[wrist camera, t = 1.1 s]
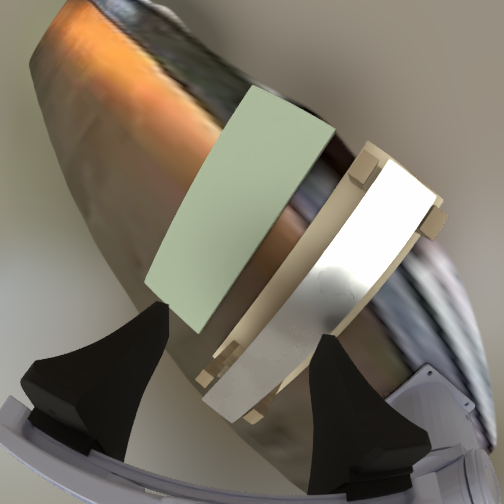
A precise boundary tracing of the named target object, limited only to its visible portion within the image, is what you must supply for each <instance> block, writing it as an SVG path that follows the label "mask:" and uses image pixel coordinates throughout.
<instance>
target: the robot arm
mask: <svg viewBox="0 0 504 504" xmlns="http://www.w3.org/2000/svg"><path fill="white" fill-rule="evenodd" d="M168 338H169V304H166V303H162V302H158V301H156V302H155V303H153V304H152V305H151V306H149V307H148V308H147V309H146V310H144V311H143V312H142V313H140V314H139V315H138V316H136V317H135V318H134V319H132V320H131V321H129V322H128V323H127V324H125V325H124V326H122V327H121V328H119V329H118V330H116V331H115V332H113V333H111V334H110V335H108V336H106V337H105V338H103V339H101V340H99V341H97V342H95V343H93V344H90V345H88V346H86V347H83V348H81V349H78V350H76V351H73V352H70V353H67V354H64V355H60V356H56V357H52V358H47V359H42V360H36V361H35V362H34V363H33V364H32V365H31V367H30V368H29V369H28V371H27V372H26V373H25V375H24V376H23V377H22V379H21V381H20V383H21V386H22V389H23V390H24V392H25V394H26V395H27V396H28V398H29V399H30V401H31V402H32V404H33V405H34V409H33V410H32V411H31V410H30V409H29V408H28V407H26V406H25V405H24V404H22V403H21V402H20V401H18V400H17V399H15V398H14V397H12V396H9V397H8V399H7V400H6V402H5V403H4V405H3V406H2V408H1V409H0V445H1V446H2V447H3V448H4V449H5V450H6V451H8V452H9V453H10V454H11V455H12V456H13V457H15V458H16V459H17V460H19V461H20V462H21V463H23V464H24V465H25V466H27V467H28V468H30V469H31V470H32V471H34V472H35V473H37V474H38V475H39V476H41V477H42V478H44V479H45V480H47V481H49V482H50V483H52V484H53V485H55V486H57V487H58V488H60V489H62V490H63V491H65V492H67V493H69V494H70V495H72V496H74V497H76V498H78V499H80V500H81V501H83V502H85V503H87V504H502V503H501V499H500V490H499V485H498V481H497V477H496V474H495V471H494V468H493V466H492V463H491V461H490V459H489V457H488V455H487V453H486V452H485V451H484V450H482V449H480V448H479V445H478V441H477V438H476V434H475V431H474V428H473V425H472V422H471V419H470V416H469V413H470V412H471V411H472V410H473V409H474V408H475V404H474V402H473V401H471V400H470V399H469V398H468V397H467V396H466V395H465V394H463V393H462V392H461V391H460V390H459V389H458V388H457V387H455V386H454V385H453V384H452V383H451V382H450V381H448V380H447V379H446V378H445V377H444V376H443V375H441V374H440V373H439V372H438V371H437V370H436V369H434V368H433V367H432V366H431V365H429V364H426V365H424V366H423V367H422V368H420V369H419V370H418V371H417V372H416V373H415V374H414V375H413V376H412V377H411V378H410V379H409V380H407V381H406V382H405V383H404V384H403V385H402V386H401V387H399V388H398V389H397V390H396V391H395V392H393V393H392V394H391V395H390V396H389V397H387V398H386V399H385V400H384V399H383V398H382V397H381V396H380V395H379V394H378V393H377V392H376V391H375V390H374V389H373V388H372V387H371V385H370V384H369V383H368V382H367V381H366V379H365V378H364V377H363V375H362V374H361V373H360V372H359V370H358V369H357V367H356V366H355V365H354V363H353V362H352V360H351V359H350V357H349V356H348V354H347V353H346V351H345V350H344V348H343V347H342V345H341V344H340V342H339V341H338V339H337V338H336V336H335V335H330V334H322V336H321V339H320V341H319V343H318V345H317V348H316V350H315V352H314V354H313V356H312V358H311V360H310V363H309V385H310V394H311V403H312V412H313V424H314V433H313V453H312V465H311V473H310V480H309V487H308V492H307V495H302V496H301V495H298V496H297V495H295V496H294V495H270V494H257V493H247V492H238V491H231V490H224V489H217V488H212V487H206V486H202V485H197V484H192V483H188V482H184V481H180V480H176V479H172V478H168V477H165V476H162V475H158V474H155V473H152V472H149V471H145V470H143V469H140V468H137V467H134V466H131V465H129V464H126V463H124V458H125V454H126V449H127V445H128V441H129V437H130V433H131V430H132V426H133V423H134V420H135V416H136V413H137V410H138V407H139V404H140V401H141V398H142V395H143V393H144V391H145V389H146V386H147V384H148V382H149V380H150V378H151V376H152V374H153V372H154V370H155V368H156V366H157V364H158V362H159V360H160V358H161V356H162V354H163V352H164V349H165V346H166V344H167V341H168ZM429 371H432V372H431V373H429V374H428V372H429ZM467 402H468V403H467ZM140 486H141V487H140ZM143 487H144V488H147V489H150V490H153V491H157V492H160V493H163V494H167V495H171V496H166V497H164V496H160V495H156V494H152V493H148V492H145V489H144V488H143ZM172 496H174V497H172Z"/></svg>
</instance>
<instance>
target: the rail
mask: <svg viewBox="0 0 504 504" xmlns="http://www.w3.org/2000/svg"><path fill="white" fill-rule="evenodd" d="M436 197H437V196H436V195H434V194H433V193H432V192H431V191H430V190H429V189H428V188H426V187H425V186H424V185H423V184H422V183H420V182H419V181H418V180H417V179H416V178H414V177H413V176H412V175H411V174H409V173H408V172H407V171H406V170H404V169H403V168H402V167H400V166H399V165H398V164H397V163H395V162H394V161H393V160H391V159H389V161H388V162H387V163H386V165H385V166H384V168H383V169H382V171H381V172H380V174H379V175H378V177H377V178H376V180H375V181H374V183H373V184H372V186H371V187H370V189H369V190H368V192H367V193H366V195H365V196H364V198H363V199H362V201H361V202H360V203H359V205H358V206H357V208H356V209H355V211H354V212H353V213H352V215H351V216H350V218H349V219H348V220H347V222H346V223H345V225H344V226H343V227H342V229H341V230H340V232H339V233H338V234H337V236H336V237H335V238H334V240H333V241H332V243H331V244H330V245H329V247H328V248H327V249H326V251H325V252H324V253H323V255H322V256H321V257H320V259H319V260H318V261H317V263H316V264H315V265H314V266H313V268H312V269H311V270H310V272H309V273H308V274H307V276H306V277H305V278H304V279H303V281H302V282H301V283H300V285H299V286H298V287H297V288H296V290H295V291H294V292H293V293H292V295H291V296H290V297H289V298H288V300H287V301H286V302H285V303H284V305H283V306H282V307H281V308H280V310H279V311H278V312H277V313H276V315H275V316H274V317H273V318H272V319H271V321H270V322H269V323H268V324H267V325H266V327H265V328H264V329H263V330H262V331H261V333H260V334H259V335H258V336H257V337H256V339H255V340H254V341H253V342H252V343H251V344H250V346H249V347H248V348H247V349H246V350H245V351H244V353H243V354H242V355H241V356H240V357H239V358H238V359H237V361H236V362H235V363H234V364H233V365H232V366H231V367H230V368H229V370H228V371H227V372H226V373H225V374H224V375H223V376H222V377H221V378H220V380H219V381H218V382H217V383H216V384H215V385H214V386H213V387H212V388H211V390H210V391H209V392H208V393H207V394H206V395H205V396H204V397H203V398H202V400H203V401H204V402H205V403H207V404H208V405H209V406H210V407H212V408H213V409H214V410H215V411H217V412H218V413H219V414H220V415H222V416H223V417H224V418H226V419H227V420H228V421H230V422H231V423H233V422H235V421H236V420H237V419H238V418H240V417H241V416H242V415H243V414H245V413H246V412H247V411H248V410H249V409H251V408H252V407H253V406H254V405H255V404H257V403H258V402H259V401H260V400H261V399H262V398H264V397H265V396H266V395H267V394H268V393H269V392H270V391H272V390H273V389H274V388H275V387H276V386H277V385H278V384H279V383H280V382H282V381H283V380H284V379H285V378H286V377H287V376H288V375H289V374H290V373H291V372H292V371H293V370H294V369H296V368H297V367H298V366H299V365H300V364H301V363H302V362H303V361H304V360H305V359H306V358H307V357H308V356H309V355H310V354H311V353H312V352H313V351H314V350H315V349H316V348H317V345H318V343H319V341H320V339H321V336H322V334H330V333H331V332H332V331H333V330H334V329H335V328H336V327H337V326H338V325H339V324H340V323H341V322H342V320H343V319H344V318H345V317H346V316H347V315H348V314H349V313H350V311H351V310H352V309H353V308H354V307H355V306H356V305H357V304H358V302H359V301H360V300H361V299H362V298H363V297H364V295H365V294H366V293H367V292H368V291H369V289H370V288H371V287H372V286H373V285H374V283H375V282H376V281H377V280H378V278H379V277H380V276H381V275H382V273H383V272H384V271H385V270H386V268H387V267H388V266H389V264H390V263H391V262H392V261H393V259H394V258H395V257H396V255H397V254H398V253H399V251H400V250H401V249H402V247H403V246H404V245H405V243H406V242H407V240H408V239H409V238H410V236H411V235H412V233H413V232H414V231H415V229H416V228H417V226H418V225H419V223H420V222H421V220H422V219H423V217H424V216H425V214H426V213H427V211H428V210H429V208H430V207H431V205H432V204H433V202H434V201H435V199H436Z"/></svg>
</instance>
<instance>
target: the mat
mask: <svg viewBox="0 0 504 504" xmlns="http://www.w3.org/2000/svg"><path fill="white" fill-rule="evenodd" d="M335 132H336V129H335V128H333V127H332V126H330V125H328V124H327V123H325V122H323V121H321V120H320V119H318V118H316V117H315V116H313V115H311V114H309V113H307V112H306V111H304V110H302V109H300V108H298V107H296V106H295V105H293V104H291V103H289V102H287V101H285V100H283V99H281V98H279V97H277V96H275V95H273V94H271V93H269V92H267V91H265V90H263V89H260V88H258V87H256V86H254V85H252V86H251V88H250V89H249V91H248V92H247V94H246V95H245V97H244V98H243V100H242V101H241V103H240V104H239V106H238V107H237V109H236V111H235V112H234V114H233V115H232V117H231V118H230V120H229V122H228V123H227V125H226V126H225V128H224V130H223V131H222V133H221V135H220V136H219V138H218V140H217V141H216V143H215V145H214V146H213V148H212V150H211V151H210V153H209V155H208V157H207V158H206V160H205V162H204V163H203V165H202V167H201V169H200V171H199V172H198V174H197V176H196V178H195V180H194V181H193V183H192V185H191V187H190V189H189V191H188V192H187V194H186V196H185V198H184V200H183V202H182V204H181V206H180V208H179V210H178V212H177V214H176V216H175V218H174V219H173V221H172V223H171V225H170V228H169V230H168V232H167V234H166V236H165V238H164V240H163V242H162V244H161V246H160V248H159V250H158V253H157V255H156V257H155V259H154V261H153V263H152V266H151V268H150V270H149V272H148V275H147V277H146V279H145V281H144V283H145V284H146V285H147V286H148V287H149V288H150V289H151V290H152V291H153V292H154V293H155V294H156V295H157V296H158V297H159V298H160V299H161V300H162V301H163V302H164V303H166V304H169V307H170V308H171V309H172V310H173V311H174V312H175V313H176V314H177V315H178V316H179V317H180V318H181V319H182V320H184V321H185V322H186V323H187V324H188V325H189V326H190V327H191V328H192V329H193V330H194V331H196V332H197V333H198V334H199V333H200V332H202V330H203V329H204V327H205V326H206V324H207V323H208V321H209V320H210V318H211V317H212V315H213V314H214V313H215V311H216V310H217V308H218V307H219V305H220V304H221V302H222V301H223V299H224V298H225V296H226V295H227V293H228V292H229V290H230V289H231V287H232V286H233V284H234V283H235V281H236V280H237V278H238V277H239V275H240V274H241V273H242V271H243V270H244V268H245V267H246V265H247V264H248V262H249V261H250V259H251V258H252V256H253V255H254V253H255V252H256V250H257V249H258V247H259V246H260V244H261V243H262V241H263V240H264V238H265V237H266V235H267V234H268V232H269V231H270V229H271V228H272V226H273V225H274V224H275V222H276V221H277V219H278V218H279V216H280V215H281V213H282V212H283V210H284V209H285V207H286V206H287V204H288V203H289V201H290V200H291V198H292V197H293V195H294V194H295V192H296V191H297V189H298V188H299V186H300V185H301V183H302V182H303V180H304V179H305V177H306V176H307V174H308V173H309V171H310V170H311V168H312V167H313V165H314V164H315V162H316V161H317V159H318V158H319V156H320V155H321V153H322V152H323V150H324V149H325V147H326V146H327V144H328V143H329V141H330V140H331V138H332V137H333V135H334V134H335Z"/></svg>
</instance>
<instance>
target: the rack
mask: <svg viewBox="0 0 504 504" xmlns="http://www.w3.org/2000/svg"><path fill="white" fill-rule="evenodd" d="M389 159H391V160H393V161H394V162H395V163H397V164H398V165H399V166H400V167H402V168H403V169H404V170H406V171H407V172H408V173H409V174H411V175H412V176H413V177H414V178H416V179H417V180H418V181H419V182H420V183H422V184H423V185H424V186H425V187H426V188H428V189H429V190H430V191H431V192H432V193H433V194H434V195H436V196H437V197H436V199H435V201H434V202H433V204H432V205H431V207H430V208H429V210H428V211H427V213H426V214H425V216H424V217H423V219H422V220H421V222H420V223H419V225H418V226H417V228H416V229H415V231H414V232H413V233H412V235H411V236H410V238H409V239H408V240H407V242H406V243H405V245H404V246H403V247H402V249H401V250H400V251H399V253H398V254H397V255H396V257H395V258H394V259H393V261H392V262H391V263H390V264H389V266H388V267H387V268H386V270H385V271H384V272H383V273H382V275H381V276H380V277H379V278H378V280H377V281H376V282H375V283H374V285H373V286H372V287H371V288H370V289H369V291H368V292H367V293H366V294H365V295H364V297H363V298H362V299H361V300H360V301H359V302H358V304H357V305H356V306H355V307H354V308H353V309H352V310H351V311H350V313H349V314H348V315H347V316H346V317H345V318H344V319H343V320H342V322H341V323H340V324H339V325H338V326H337V327H336V328H335V329H334V330H333V331H332V332H331V333H330V335H335V336H336V337H337V336H338V335H339V334H340V333H341V332H342V331H343V330H344V329H345V328H346V327H347V326H348V325H349V323H350V322H351V321H352V320H353V319H354V318H355V317H356V316H357V315H358V314H359V312H360V311H361V310H362V309H363V308H364V307H365V306H366V304H367V303H368V302H369V301H370V300H371V299H372V297H373V296H374V295H375V294H376V293H377V292H378V290H379V289H380V288H381V287H382V286H383V284H384V283H385V282H386V281H387V279H388V278H389V277H390V276H391V274H392V273H393V272H394V271H395V269H396V268H397V267H398V265H399V264H400V263H401V262H402V260H403V259H404V258H405V256H406V255H407V254H408V252H409V251H410V249H411V248H412V247H413V245H414V244H415V243H416V241H417V240H418V238H419V237H420V236H421V235H422V236H424V237H426V238H428V239H430V240H432V241H433V240H434V238H435V237H436V235H437V234H438V232H439V231H440V229H441V228H442V226H443V225H444V223H445V222H446V220H447V219H448V216H447V215H446V214H445V213H444V212H443V211H441V210H440V209H439V207H440V205H441V204H442V202H443V201H444V200H443V199H442V198H441V197H440V196H438V195H437V194H436V193H435V192H434V191H433V190H432V189H430V188H429V187H428V186H427V185H426V184H425V183H423V182H422V181H421V180H420V179H419V178H417V177H416V176H415V175H414V174H413V173H411V172H410V171H409V170H407V169H406V168H405V167H404V166H402V165H401V164H400V163H398V162H397V161H396V160H394V159H393V158H392V157H390V156H389V155H388V154H386V153H385V152H384V151H382V150H381V149H379V148H378V147H376V146H375V145H374V144H372V143H371V142H369V141H367V142H366V144H365V145H364V147H363V148H362V150H361V151H360V153H359V154H358V156H357V157H356V159H355V160H354V162H353V163H352V165H351V166H350V168H349V169H348V171H347V172H346V174H345V175H344V177H343V178H342V180H341V181H340V182H339V184H338V185H337V187H336V188H335V190H334V191H333V193H332V194H331V196H330V197H329V199H328V200H327V201H326V203H325V204H324V206H323V207H322V209H321V210H320V212H319V213H318V214H317V216H316V217H315V219H314V220H313V222H312V223H311V224H310V226H309V227H308V229H307V230H306V231H305V233H304V234H303V236H302V237H301V238H300V240H299V241H298V243H297V244H296V245H295V247H294V248H293V250H292V251H291V252H290V254H289V255H288V257H287V258H286V259H285V261H284V262H283V263H282V265H281V266H280V268H279V269H278V270H277V272H276V273H275V274H274V276H273V277H272V279H271V280H270V281H269V283H268V284H267V285H266V287H265V288H264V289H263V291H262V292H261V293H260V295H259V296H258V297H257V299H256V300H255V301H254V303H253V304H252V305H251V307H250V308H249V309H248V311H247V312H246V313H245V315H244V316H243V317H242V319H241V320H240V321H239V323H238V324H237V325H236V327H235V328H234V329H233V330H232V332H231V333H230V334H229V336H228V337H227V338H226V340H225V341H224V342H223V343H222V345H221V346H220V347H219V349H218V350H217V351H216V352H215V354H214V355H213V357H214V358H215V359H214V360H213V361H212V362H211V363H210V364H209V365H208V366H207V367H206V368H204V369H203V371H202V372H201V373H200V374H199V376H198V377H197V378H196V379H195V380H196V381H197V382H199V383H200V384H201V385H202V386H203V387H204V388H205V387H206V386H207V385H208V384H209V383H210V382H211V381H212V380H213V379H214V378H215V377H216V376H218V377H220V378H221V377H222V376H223V375H224V374H225V373H226V372H227V371H228V370H229V368H230V367H231V366H232V365H233V364H234V363H235V362H236V361H237V359H238V358H239V357H240V356H241V355H242V354H243V353H244V351H245V350H246V349H247V348H248V347H249V346H250V344H251V343H252V342H253V341H254V340H255V339H256V337H257V336H258V335H259V334H260V333H261V331H262V330H263V329H264V328H265V327H266V325H267V324H268V323H269V322H270V321H271V319H272V318H273V317H274V316H275V315H276V313H277V312H278V311H279V310H280V308H281V307H282V306H283V305H284V303H285V302H286V301H287V300H288V298H289V297H290V296H291V295H292V293H293V292H294V291H295V290H296V288H297V287H298V286H299V285H300V283H301V282H302V281H303V279H304V278H305V277H306V276H307V274H308V273H309V272H310V270H311V269H312V268H313V266H314V265H315V264H316V263H317V261H318V260H319V259H320V257H321V256H322V255H323V253H324V252H325V251H326V249H327V248H328V247H329V245H330V244H331V243H332V241H333V240H334V238H335V237H336V236H337V234H338V233H339V232H340V230H341V229H342V227H343V226H344V225H345V223H346V222H347V220H348V219H349V218H350V216H351V215H352V213H353V212H354V211H355V209H356V208H357V206H358V205H359V203H360V202H361V201H362V199H363V198H364V196H365V195H366V193H367V192H368V190H369V189H370V187H371V186H372V184H373V183H374V181H375V180H376V178H377V177H378V175H379V174H380V172H381V171H382V169H383V168H384V166H385V165H386V163H387V162H388V161H389ZM315 350H316V349H315ZM315 350H314V351H313V352H312V353H311V354H310V355H309V356H308V357H307V358H306V359H305V360H304V361H303V362H302V363H301V364H300V365H299V366H298V367H297V368H296V369H294V370H293V371H292V372H291V373H290V374H289V375H288V376H287V377H286V378H285V379H284V380H283V381H282V382H280V383H279V384H278V385H277V386H276V387H275V388H274V389H273V390H272V391H270V392H269V393H268V394H267V395H266V396H265V397H264V398H262V399H261V400H260V401H259V402H258V403H257V404H255V405H254V406H253V407H252V408H251V409H249V410H248V411H247V412H246V414H245V415H244V417H243V418H244V419H245V420H247V421H248V422H249V423H251V424H252V425H253V424H255V423H256V422H257V421H259V420H260V419H261V418H263V417H264V415H265V414H266V412H267V410H268V408H269V406H270V405H271V403H272V401H273V399H274V397H275V395H276V394H277V393H278V392H279V391H281V390H282V389H283V388H284V387H285V386H286V385H287V384H289V383H290V382H291V381H292V380H293V379H294V378H295V377H296V376H297V375H298V374H300V373H301V372H302V371H303V370H304V369H305V368H306V367H307V366H308V365H309V363H310V360H311V358H312V356H313V354H314V352H315Z"/></svg>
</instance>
